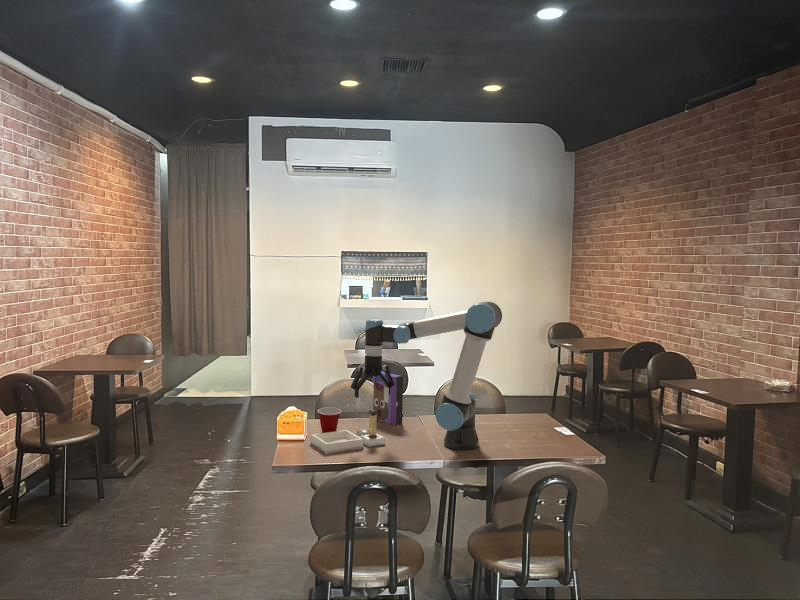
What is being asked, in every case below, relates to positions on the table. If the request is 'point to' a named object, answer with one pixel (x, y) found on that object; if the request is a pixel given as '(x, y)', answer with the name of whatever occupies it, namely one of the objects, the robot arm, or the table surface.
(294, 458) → the table surface
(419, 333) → the robot arm
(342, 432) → the tray
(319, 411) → the plastic cup
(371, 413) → the lock pin
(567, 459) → the table surface
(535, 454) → the table surface
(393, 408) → the cereal box
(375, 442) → the bracket
